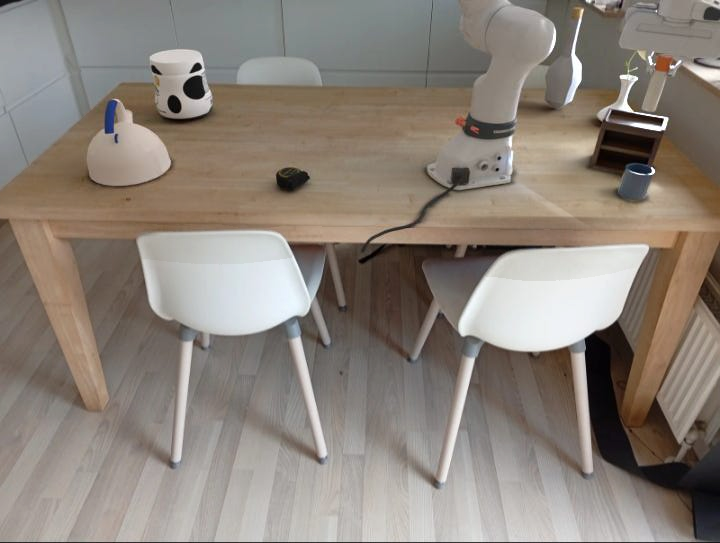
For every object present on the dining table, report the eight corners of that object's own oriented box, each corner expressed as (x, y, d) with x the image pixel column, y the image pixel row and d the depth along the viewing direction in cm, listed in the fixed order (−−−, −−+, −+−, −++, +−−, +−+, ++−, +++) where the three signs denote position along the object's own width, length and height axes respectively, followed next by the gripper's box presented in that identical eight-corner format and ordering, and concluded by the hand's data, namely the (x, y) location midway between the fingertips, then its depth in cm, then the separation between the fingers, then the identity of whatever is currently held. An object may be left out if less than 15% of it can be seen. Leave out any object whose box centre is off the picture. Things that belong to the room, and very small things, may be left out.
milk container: (149, 113, 172) (135, 55, 161) (198, 101, 181) (187, 45, 171) (174, 129, 162) (161, 68, 151) (225, 115, 171) (215, 56, 160)
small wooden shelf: (647, 180, 135) (664, 130, 127) (589, 168, 141) (602, 119, 133) (651, 166, 141) (668, 117, 133) (595, 155, 147) (609, 107, 139)
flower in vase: (636, 132, 160) (665, 43, 145) (596, 127, 163) (619, 39, 148) (633, 116, 170) (660, 32, 155) (595, 112, 173) (617, 29, 158)
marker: (649, 112, 123) (667, 58, 116) (638, 108, 125) (655, 54, 118) (658, 110, 124) (676, 56, 117) (647, 106, 126) (664, 53, 119)
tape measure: (291, 195, 129) (290, 181, 127) (271, 187, 132) (269, 173, 130) (310, 184, 134) (309, 171, 131) (290, 177, 137) (288, 163, 135)
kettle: (175, 149, 150) (160, 84, 139) (166, 183, 134) (149, 112, 123) (99, 154, 148) (78, 88, 137) (81, 190, 131) (55, 118, 120)
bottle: (576, 116, 170) (602, 13, 152) (540, 113, 172) (561, 11, 154) (571, 103, 179) (595, 5, 161) (537, 101, 180) (556, 3, 162)
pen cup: (632, 204, 125) (642, 177, 121) (611, 193, 130) (619, 166, 126) (650, 198, 128) (660, 171, 124) (629, 187, 132) (638, 161, 128)
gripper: (626, 3, 113) (608, 70, 121) (737, 14, 105) (710, 85, 113) (631, -2, 117) (613, 63, 126) (738, 8, 109) (711, 77, 118)
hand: (660, 74), depth 119 cm, fingers closed on marker, 3 cm apart
